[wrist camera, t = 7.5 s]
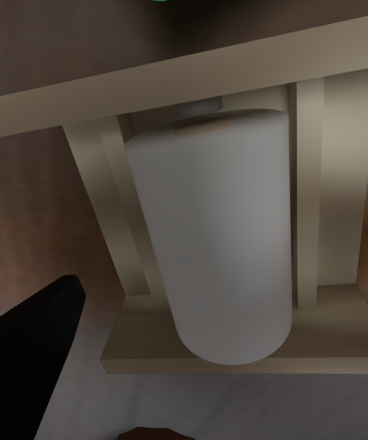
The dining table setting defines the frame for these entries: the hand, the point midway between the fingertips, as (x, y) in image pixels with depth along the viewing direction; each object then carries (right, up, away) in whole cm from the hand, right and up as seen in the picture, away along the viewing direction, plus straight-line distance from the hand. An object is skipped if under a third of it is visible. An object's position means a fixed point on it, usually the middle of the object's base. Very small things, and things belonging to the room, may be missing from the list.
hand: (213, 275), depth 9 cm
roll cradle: (+1, +3, +5) cm, 6 cm away
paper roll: (+1, +2, +4) cm, 5 cm away
